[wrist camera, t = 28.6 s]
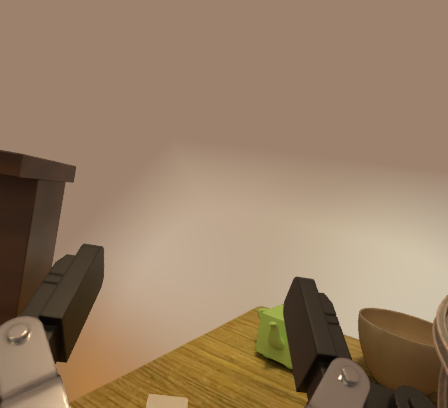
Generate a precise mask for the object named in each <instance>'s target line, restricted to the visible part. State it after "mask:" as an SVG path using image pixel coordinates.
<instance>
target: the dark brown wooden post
mask: <svg viewBox="0 0 448 408" xmlns="http://www.w3.org/2000/svg"><path fill="white" fill-rule="evenodd" d="M75 170H76V166H72V165H68V164H64V163H59V162H55V161H51V160H47V159H42V158H38V157H34V156H29V155H25V154H20V153H13V152H9V151H3V150H0V326H1V325H2V324H4V323H5V322H7V321H9V320H11V319H13V318H17V317H18V316H19V315H20V314H21V312H22V311H23V309H24V308H25V306H26V305H27V303H28V302H29V300H30V299H31V298H32V296H33V295H34V293H35V292H36V290H37V289H38V287H39V286H40V284H41V283H43V280H44V279H45V277H46V276H47V275H48V274H49V271H50V270H51V268H52V262H53V256H54V250H55V243H56V237H57V231H58V225H59V219H60V213H61V206H62V200H63V194H64V187H65V182H72V183H73V182H74V177H75ZM0 401H1V399H0Z"/></svg>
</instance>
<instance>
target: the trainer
mask: <svg viewBox="0 0 448 408" xmlns="http://www.w3.org/2000/svg"><path fill="white" fill-rule="evenodd" d="M187 405H188V398H183V397H174V396H164V395H155V394H149V396H148V400H147V405H146V408H187Z"/></svg>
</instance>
